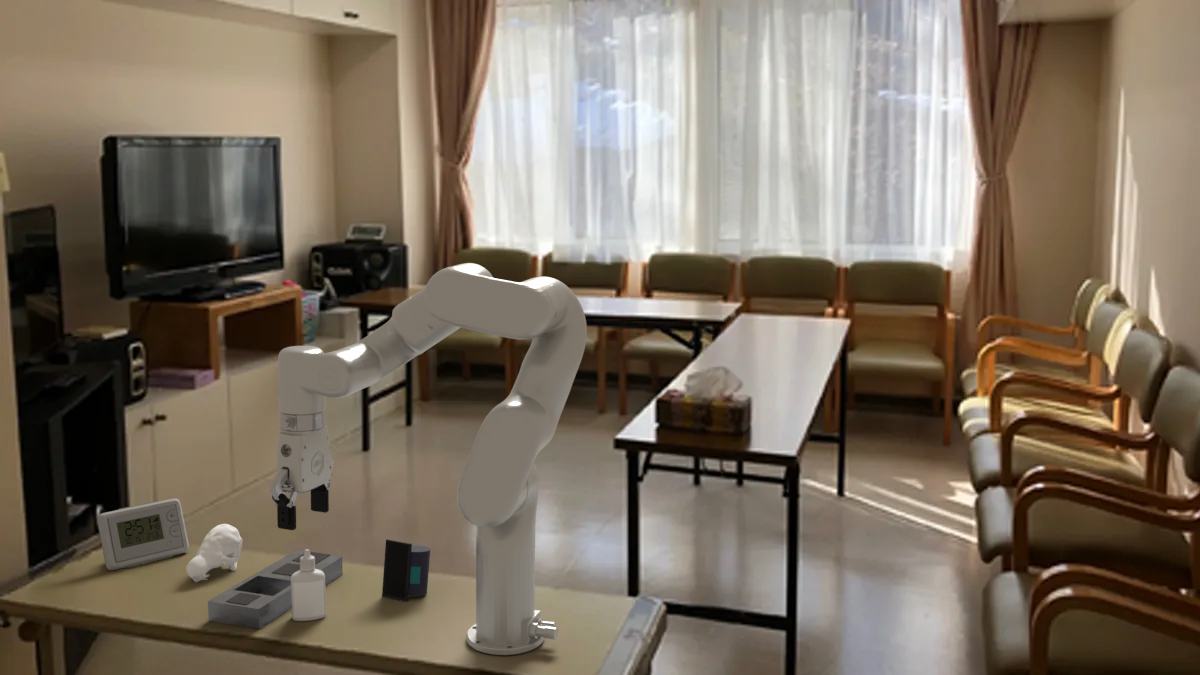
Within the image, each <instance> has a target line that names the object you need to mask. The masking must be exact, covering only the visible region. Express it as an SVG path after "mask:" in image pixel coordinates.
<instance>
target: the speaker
mask: <svg viewBox="0 0 1200 675" xmlns="http://www.w3.org/2000/svg"><path fill="white" fill-rule="evenodd" d="M430 557H431V548H430V547H427V546H424V545H414V544H413V543H410V542H409V543H408V542H404V541H398V540H393V539H385V547H384V563H383V578H382V592H381V597H382V598H385V599H387V598H388V599H391V600H396V601H400V600H402V601H401V602H405V601H409V597H418V596H425V595H427V594H428V585H429V571H430V560H431V559H430Z"/></svg>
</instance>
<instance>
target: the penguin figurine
mask: <svg viewBox="0 0 1200 675" xmlns="http://www.w3.org/2000/svg"><path fill="white" fill-rule="evenodd" d="M240 535H241V534H240V532H239V530H238V529H237V528H236V527H235V526H233V525H230V524H228V523H221V524H218V525H216V526H214V527H213V528H211V529H210V531H209V532H207V534H206V535H205V537H204V538H203V540H202V542H201V544H200V547H199V548H198V549H197V551H196V555H195V556H194V557H193V558H192V559H191V560H189V562H188V563H187V564H186V568H185V570H186V573H187V576H188V577H190V578H191V579H192V580H193V582H195V583H198V582H200V581H209V579H208V578H209V577H210V573H208V572H209V571H211V570H213V569H215V568H219V567H221V566H224V567H228V568H229V569H230V570H231V571H232V572H235V571H236V570H237V568H238V562H239V558H240V554H241V552H242V549H243V541H244V540H243V538H242V537H241V536H240ZM207 573H208V574H207Z"/></svg>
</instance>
